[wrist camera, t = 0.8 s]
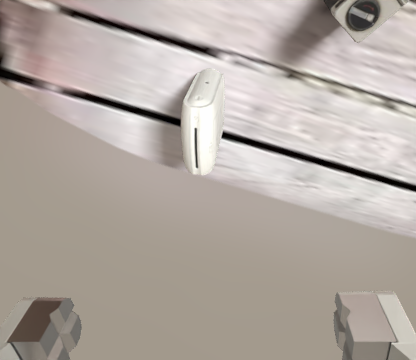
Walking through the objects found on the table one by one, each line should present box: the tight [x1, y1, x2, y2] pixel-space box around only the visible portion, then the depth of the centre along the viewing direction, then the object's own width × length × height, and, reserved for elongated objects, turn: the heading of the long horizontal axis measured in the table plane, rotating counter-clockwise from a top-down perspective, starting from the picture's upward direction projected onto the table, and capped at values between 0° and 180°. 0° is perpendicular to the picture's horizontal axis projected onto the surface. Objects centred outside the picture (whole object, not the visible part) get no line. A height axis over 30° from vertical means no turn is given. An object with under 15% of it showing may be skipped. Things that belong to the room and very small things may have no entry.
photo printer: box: [181, 69, 225, 175], centre depth 45 cm, size 10×4×12 cm, turn 0°
